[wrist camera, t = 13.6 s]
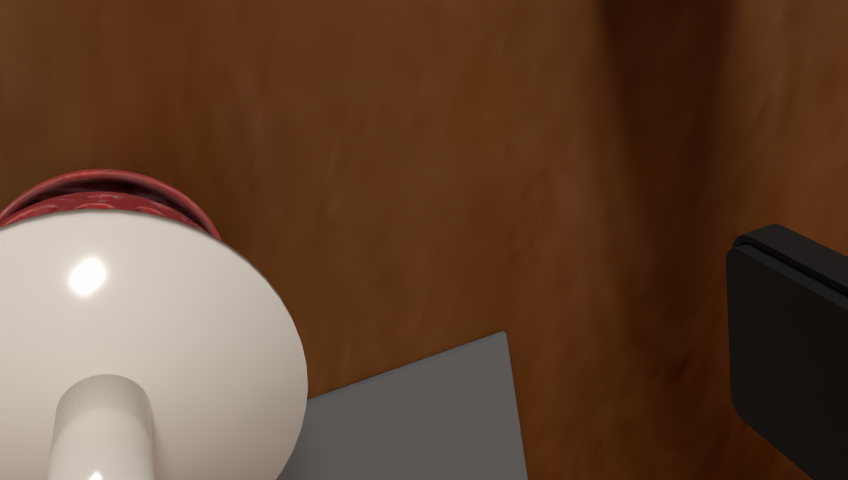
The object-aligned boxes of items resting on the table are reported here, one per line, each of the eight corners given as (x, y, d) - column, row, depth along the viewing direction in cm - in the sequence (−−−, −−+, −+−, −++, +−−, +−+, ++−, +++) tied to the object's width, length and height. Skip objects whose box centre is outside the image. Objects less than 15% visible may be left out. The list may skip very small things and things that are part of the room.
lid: (243, 156, 28) (278, 218, 22) (339, 475, 34) (387, 593, 28) (-227, 290, 24) (-345, 409, 18) (-23, 619, 31) (-59, 791, 24)
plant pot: (-65, 158, 35) (-144, 252, 25) (232, 147, 40) (272, 223, 29) (-22, 407, 40) (-73, 577, 29) (240, 373, 44) (278, 509, 34)
